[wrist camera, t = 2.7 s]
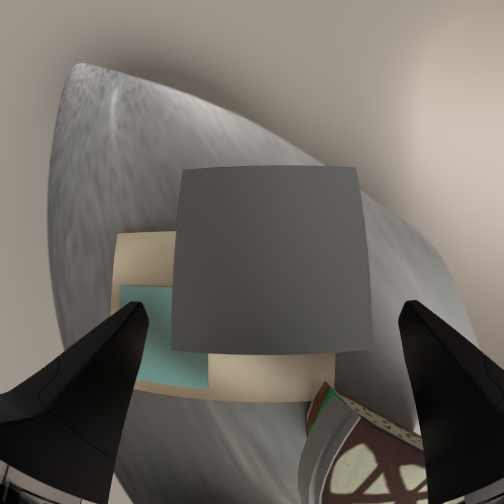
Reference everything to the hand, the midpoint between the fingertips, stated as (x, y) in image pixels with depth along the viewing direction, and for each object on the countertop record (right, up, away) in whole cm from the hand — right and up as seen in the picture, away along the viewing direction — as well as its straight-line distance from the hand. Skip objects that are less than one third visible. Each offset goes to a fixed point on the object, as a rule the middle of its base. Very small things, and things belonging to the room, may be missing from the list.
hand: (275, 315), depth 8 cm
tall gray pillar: (0, 0, +8) cm, 8 cm away
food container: (+6, -11, +6) cm, 14 cm away
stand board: (-3, -2, +9) cm, 10 cm away
